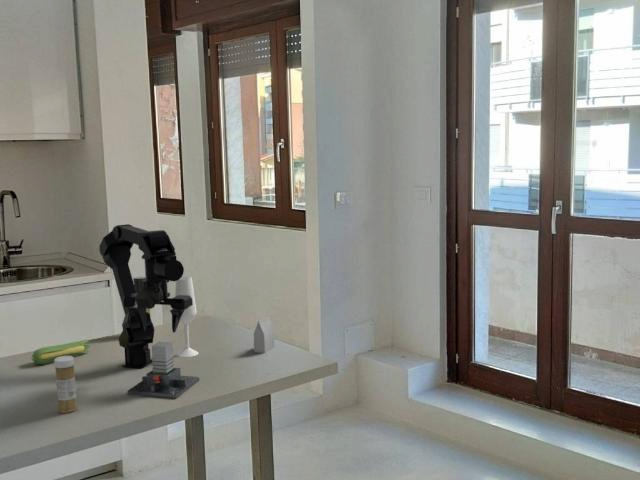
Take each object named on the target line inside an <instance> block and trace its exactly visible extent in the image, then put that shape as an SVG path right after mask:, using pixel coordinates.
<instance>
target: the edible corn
mask: <svg viewBox="0 0 640 480" xmlns="http://www.w3.org/2000/svg"><path fill="white" fill-rule="evenodd" d="M89 341H90V339H84V340H79V341H73V342H69V343H63V344H58V345H52V346H46V347H45V346H43V347H40V348H38V349H36V350H34V352H33V353H32V356H31V361H33V362H34V363H35V364H36V365H37V364H38V365H41V366H42V365H47V364H52V363H54V360H55V358H57V357H60V356H72V357H74V358H75V357H78V356H79V357H80V356H83V355H86V354H87V355H88V352H90V351H89V349H90V348H91V345H89V344H86V343H88V342H89Z"/></svg>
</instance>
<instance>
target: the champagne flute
mask: <svg viewBox="0 0 640 480" xmlns="http://www.w3.org/2000/svg"><path fill="white" fill-rule="evenodd" d="M178 295H190V296H191V298H192V301H193V305H192V306H190V307H188V308H187V309H185V310H184V312H183V314H182V316H181V319H180V321H179V322H180V323H182V324H184V341H185V342H184V343H185V344H184V345H185V347H184V349H182V350H180V351H178V352H177V354H176V356H177V357H180V358H190V357H195V356H198V355H199V352H198V351H197V350H195V349H193V348H191V347H190V337H189V336H190V333H189V324H190V323H191V322H192V321H193V320H194V318H195V317H196V315H197V312H198V311H197V310H198V309H197V303H196V295H195V291H194V282H193V277H192V276H189V275H187V276H185V275H184V276H183V275H182V277H181V278H180V279H179V280H177V281H175V296H174V297H176V296H178Z"/></svg>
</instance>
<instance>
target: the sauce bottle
mask: <svg viewBox="0 0 640 480" xmlns="http://www.w3.org/2000/svg"><path fill="white" fill-rule="evenodd" d="M132 279H133V282H134V286H135V289H136V293H139V292H140V291H141V290H142V289H143V282H144V281H146V276H136V277H132ZM147 312H148V313H149V314H150V317H151V318H152V316H151V315H152V313H151V309H147V308H146V313H147Z"/></svg>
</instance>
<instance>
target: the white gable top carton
mask: <svg viewBox="0 0 640 480" xmlns="http://www.w3.org/2000/svg"><path fill="white" fill-rule="evenodd" d="M274 348H275V329H274V326H273V324H272V322H271V319H270V317H269V316H264V318H261V319H259V320H258V321H257V324H256V326H255V329H254V331H253V352H254V353H261V354H266V353H268V352H269V351H271V350H272V349H274Z"/></svg>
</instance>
